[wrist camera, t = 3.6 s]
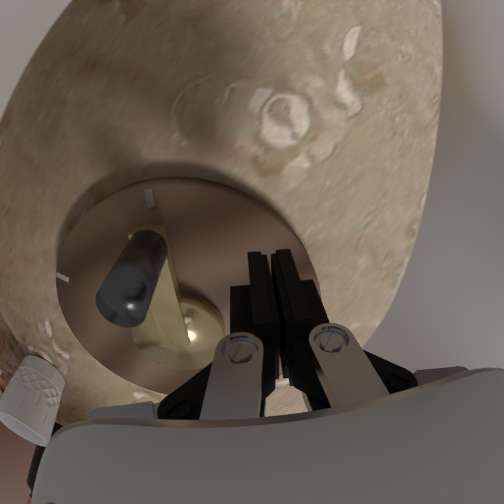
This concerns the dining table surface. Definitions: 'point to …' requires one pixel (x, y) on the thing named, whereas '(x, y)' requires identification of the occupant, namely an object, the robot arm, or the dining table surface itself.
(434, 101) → the dining table surface
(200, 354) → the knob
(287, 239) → the base plate
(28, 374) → the white cup
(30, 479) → the bottle
